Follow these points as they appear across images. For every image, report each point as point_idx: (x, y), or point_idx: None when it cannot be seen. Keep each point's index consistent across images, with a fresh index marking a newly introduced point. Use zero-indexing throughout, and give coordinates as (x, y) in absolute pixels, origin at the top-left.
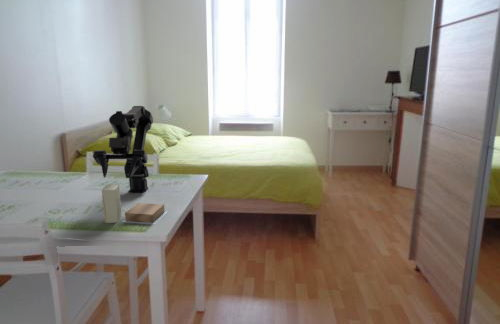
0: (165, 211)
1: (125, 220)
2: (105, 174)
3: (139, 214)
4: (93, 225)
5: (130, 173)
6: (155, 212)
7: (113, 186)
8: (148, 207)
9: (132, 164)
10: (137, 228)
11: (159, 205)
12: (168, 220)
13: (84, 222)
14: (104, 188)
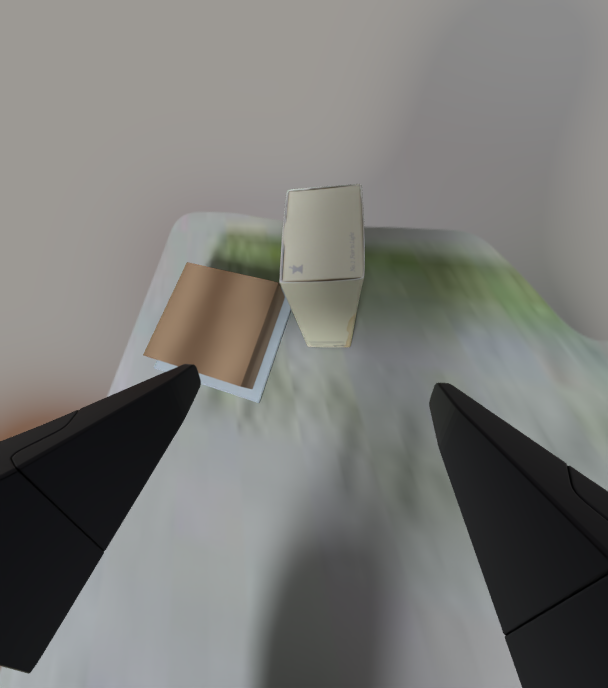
0: (162, 368)
1: (286, 303)
2: (441, 415)
3: (228, 272)
4: (383, 281)
5: (172, 371)
6: (178, 284)
7: (306, 241)
8: (199, 329)
9: (50, 438)
10: (245, 252)
11: (159, 346)
12: (161, 299)
13: (426, 307)
14: (354, 210)
